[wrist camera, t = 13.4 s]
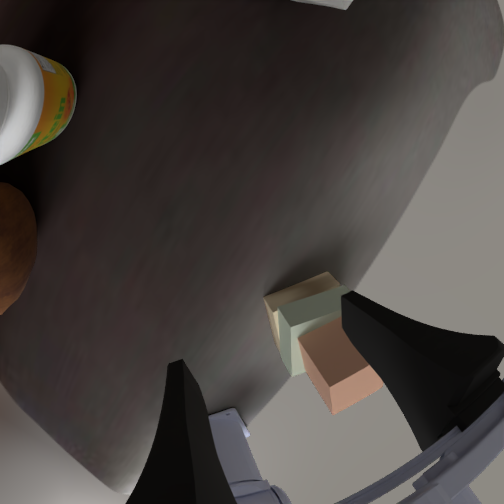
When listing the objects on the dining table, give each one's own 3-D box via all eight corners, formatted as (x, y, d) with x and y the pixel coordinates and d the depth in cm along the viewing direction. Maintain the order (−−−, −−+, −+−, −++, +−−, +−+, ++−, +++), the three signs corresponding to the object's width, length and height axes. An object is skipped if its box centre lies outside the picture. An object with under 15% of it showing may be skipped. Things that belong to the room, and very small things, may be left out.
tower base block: (273, 341, 28) (283, 359, 26) (261, 294, 25) (272, 312, 23) (328, 316, 29) (341, 332, 27) (325, 268, 26) (340, 283, 24)
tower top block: (280, 357, 26) (291, 377, 24) (277, 306, 23) (290, 327, 21) (339, 335, 27) (352, 352, 25) (344, 284, 24) (361, 301, 22)
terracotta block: (305, 370, 24) (332, 415, 20) (297, 338, 22) (329, 387, 18) (351, 347, 25) (382, 386, 21) (349, 312, 22) (387, 354, 18)
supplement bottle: (46, 161, 15) (-31, 218, 7) (-10, 120, 12) (-106, 148, 4) (95, 88, 14) (42, 73, 6) (37, 46, 11) (-45, 13, 3)
